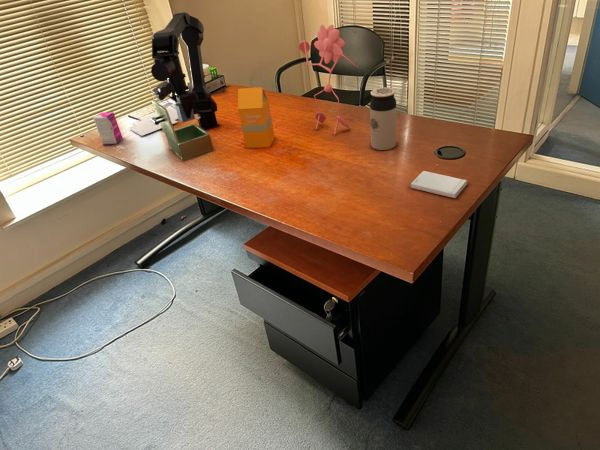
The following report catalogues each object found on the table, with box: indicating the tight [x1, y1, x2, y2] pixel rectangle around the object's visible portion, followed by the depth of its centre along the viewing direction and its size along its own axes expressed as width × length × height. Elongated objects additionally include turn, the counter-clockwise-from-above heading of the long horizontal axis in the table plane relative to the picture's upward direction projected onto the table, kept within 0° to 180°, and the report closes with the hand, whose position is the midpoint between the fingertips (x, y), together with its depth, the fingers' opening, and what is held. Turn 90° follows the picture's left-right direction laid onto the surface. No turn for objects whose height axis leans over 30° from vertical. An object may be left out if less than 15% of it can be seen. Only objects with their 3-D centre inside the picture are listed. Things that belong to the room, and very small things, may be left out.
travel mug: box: [369, 86, 397, 151], centre depth 139 cm, size 8×8×18 cm
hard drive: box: [410, 170, 468, 199], centre depth 119 cm, size 2×8×12 cm
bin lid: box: [151, 99, 179, 144], centre depth 151 cm, size 12×15×4 cm
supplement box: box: [93, 111, 124, 146], centre depth 174 cm, size 6×6×12 cm
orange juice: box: [237, 86, 275, 149], centre depth 153 cm, size 8×9×20 cm
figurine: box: [298, 24, 359, 139], centre depth 153 cm, size 15×26×35 cm, turn 45°
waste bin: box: [165, 123, 214, 162], centre depth 160 cm, size 12×15×6 cm
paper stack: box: [128, 106, 179, 137], centre depth 191 cm, size 23×25×1 cm
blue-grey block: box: [174, 103, 196, 124], centre depth 156 cm, size 5×5×6 cm
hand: (186, 116), depth 157 cm, fingers closed on blue-grey block, 4 cm apart
